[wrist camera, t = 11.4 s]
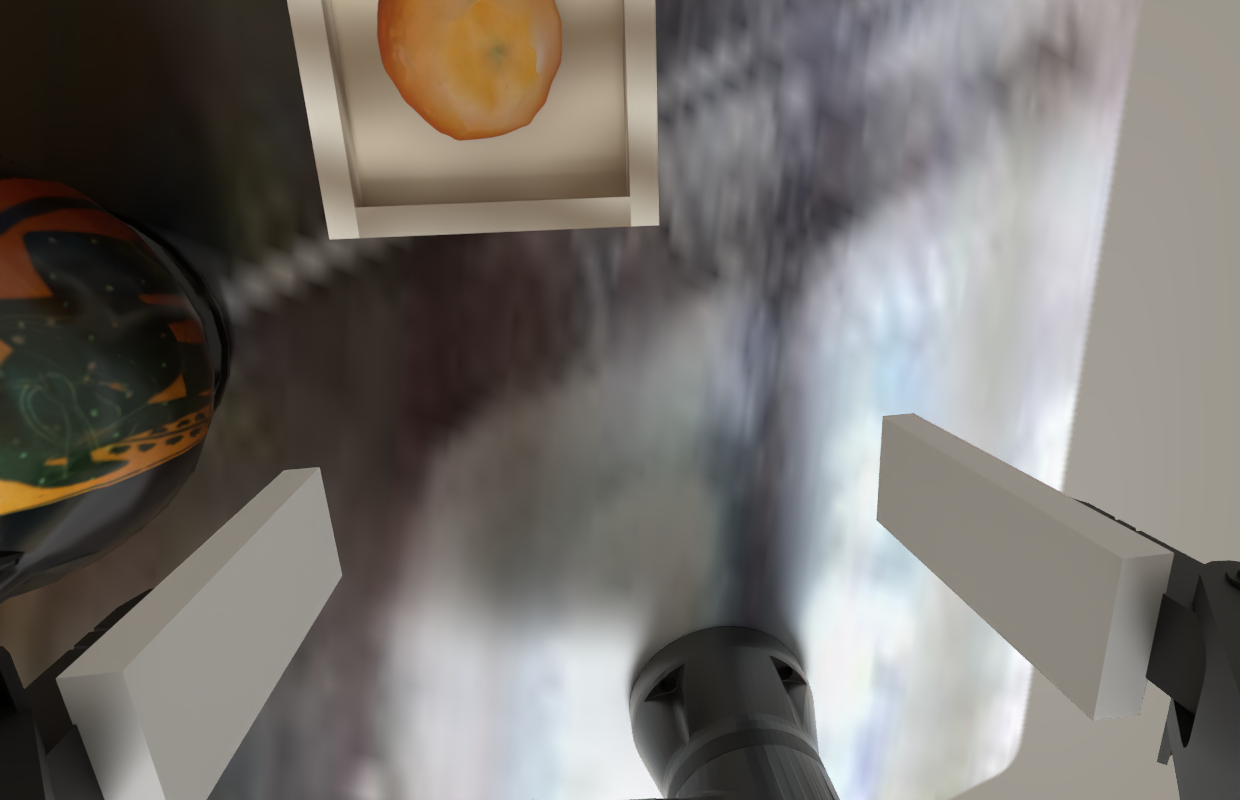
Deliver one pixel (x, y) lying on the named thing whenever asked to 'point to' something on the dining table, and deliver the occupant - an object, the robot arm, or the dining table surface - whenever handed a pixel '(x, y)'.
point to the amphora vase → (94, 377)
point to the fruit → (471, 61)
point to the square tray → (492, 167)
